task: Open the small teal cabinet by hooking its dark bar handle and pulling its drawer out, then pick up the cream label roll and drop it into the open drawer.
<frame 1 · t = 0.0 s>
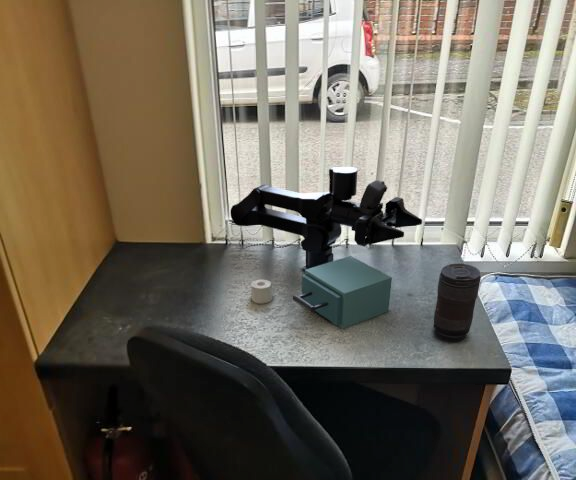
hand: (412, 228, 130), 17 cm above the table, tool horizontal, fingers open, 9 cm apart
drawer: (332, 295, 130), point 4 cm above the table, slide at 0.0 cm
camera lens: (449, 335, 124), on the table
teal cabinet: (345, 307, 134), on the table
label roll: (261, 298, 138), on the table
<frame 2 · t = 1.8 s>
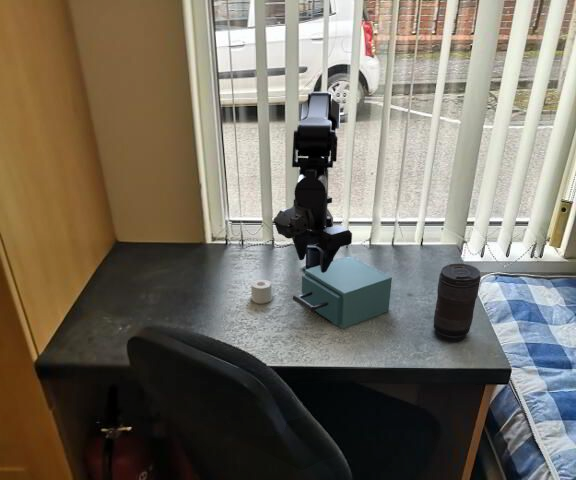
hand: (312, 265, 122), 13 cm above the table, tool pointing down, fingers open, 8 cm apart
nothing on the table moved.
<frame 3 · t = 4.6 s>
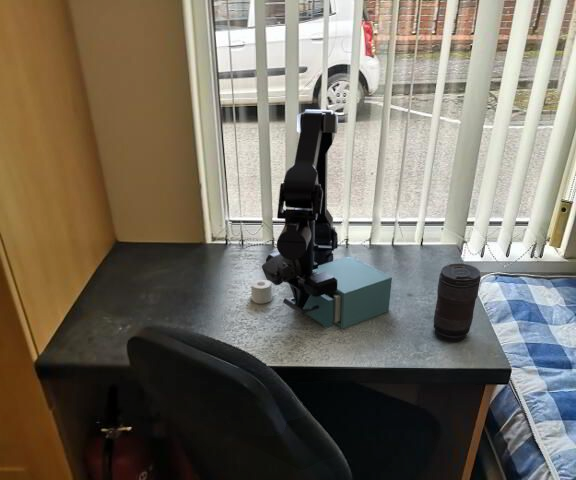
hand: (300, 307, 126), 4 cm above the table, tool pointing down, fingers closed, pressing on drawer
drawer: (323, 298, 129), point 4 cm above the table, slide at 2.5 cm, touching gripper
everything else where it was.
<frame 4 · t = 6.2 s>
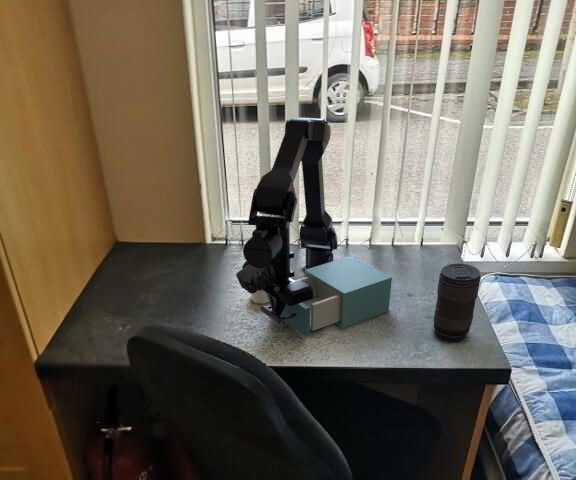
hand: (277, 316, 124), 4 cm above the table, tool pointing down, fingers closed, pressing on drawer
drawer: (301, 305, 126), point 4 cm above the table, slide at 8.5 cm, touching gripper
everything else where it was.
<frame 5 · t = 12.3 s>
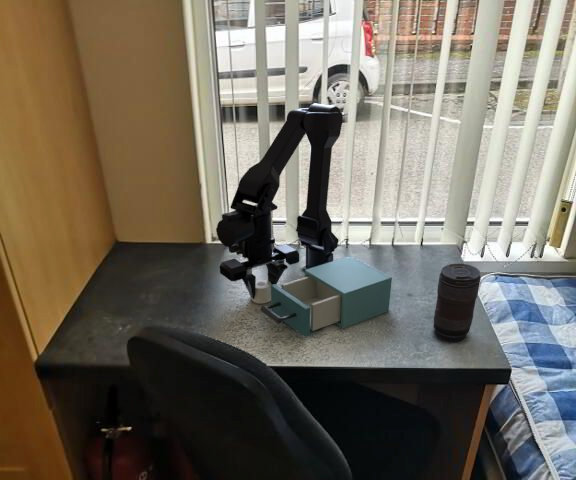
hand: (261, 295, 138), 1 cm above the table, tool pointing down, fingers closed on label roll, 5 cm apart
drawer: (301, 305, 126), point 4 cm above the table, slide at 8.5 cm
label roll: (261, 298, 138), on the table, touching gripper
everything else where it was.
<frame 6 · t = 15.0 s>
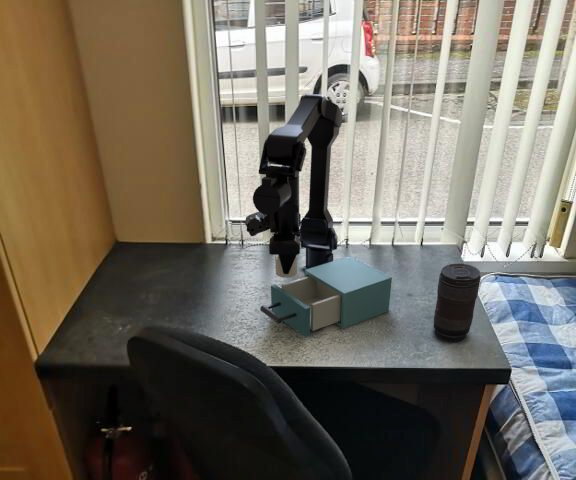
hand: (286, 268, 127), 11 cm above the table, tool pointing down, fingers closed on label roll, 5 cm apart
label roll: (286, 273, 128), point 10 cm above the table, touching gripper
everything else where it was.
when the fingers open (6 cm above the table, at t = 17.6 s): label roll drops 3 cm, resting on drawer.
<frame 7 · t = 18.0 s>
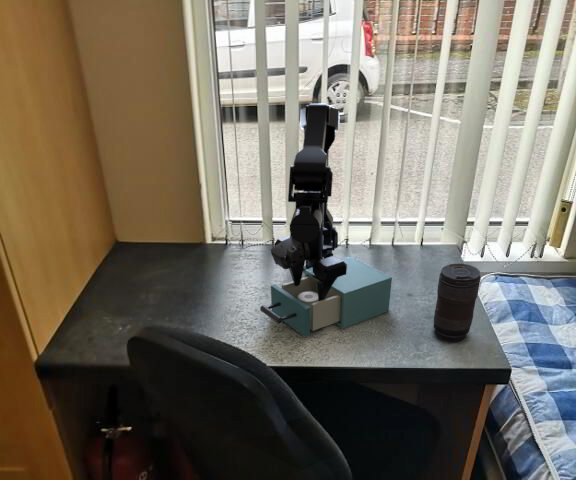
hand: (308, 293, 125), 7 cm above the table, tool pointing down, fingers open, 9 cm apart
drawer: (301, 305, 126), point 4 cm above the table, slide at 8.5 cm, touching label roll
label roll: (308, 312, 128), point 2 cm above the table, touching drawer
everything else where it was.
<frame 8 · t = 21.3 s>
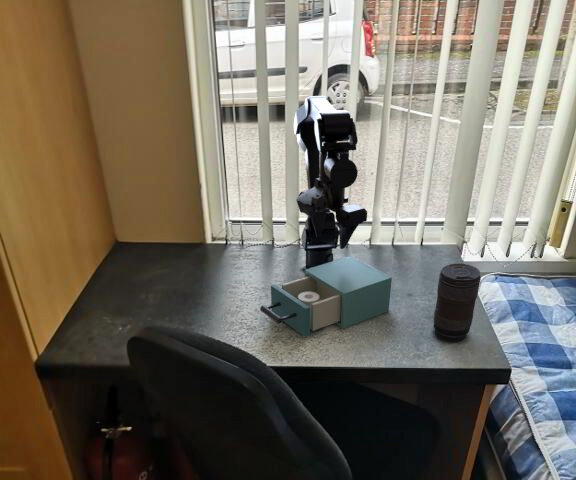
hand: (330, 242, 134), 13 cm above the table, tool pointing down, fingers open, 9 cm apart
nothing on the table moved.
at the end: drawer slide at 8.5 cm; label roll inside the target area in the drawer (0.3 cm from its centre), point 2.0 cm above the teal cabinet's base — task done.
